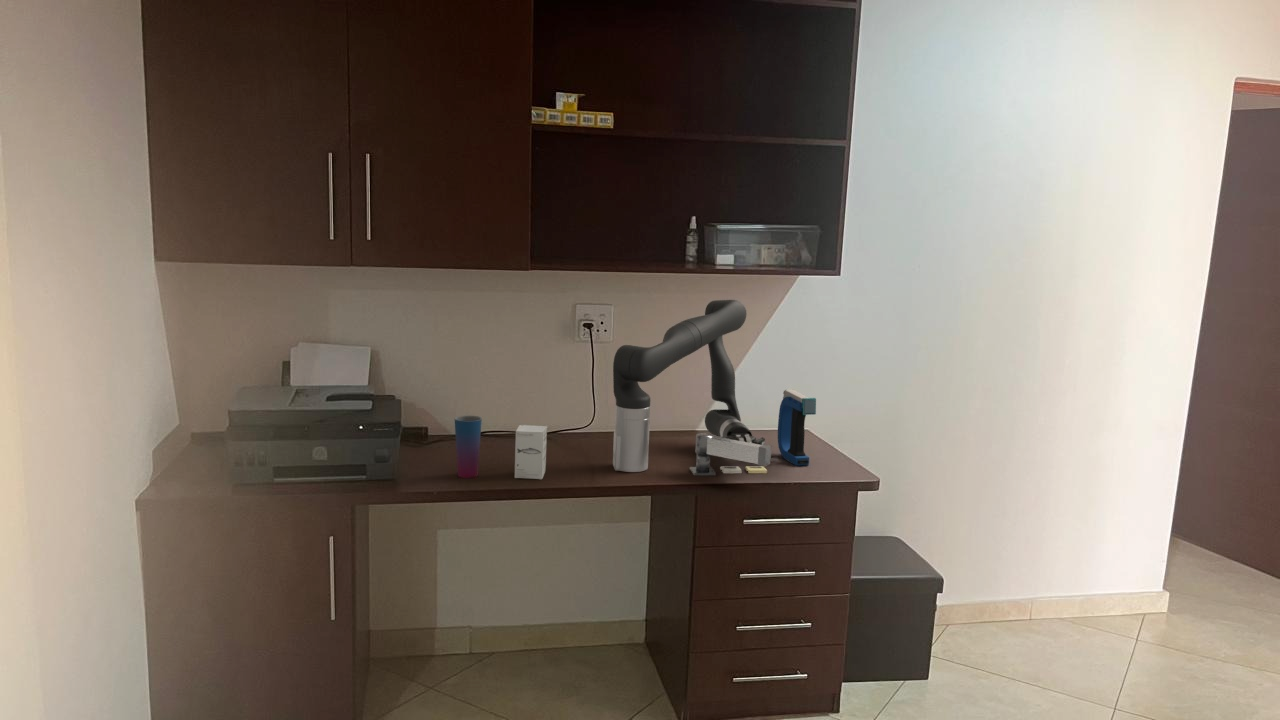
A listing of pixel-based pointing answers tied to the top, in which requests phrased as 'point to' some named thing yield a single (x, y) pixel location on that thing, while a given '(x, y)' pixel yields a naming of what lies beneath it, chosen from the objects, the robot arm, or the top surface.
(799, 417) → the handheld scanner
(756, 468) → the label plate
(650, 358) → the robot arm
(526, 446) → the supplement box
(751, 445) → the bar
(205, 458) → the top surface
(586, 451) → the top surface
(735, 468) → the label plate
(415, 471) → the top surface
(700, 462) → the gray square plate
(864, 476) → the top surface
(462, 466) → the cup
